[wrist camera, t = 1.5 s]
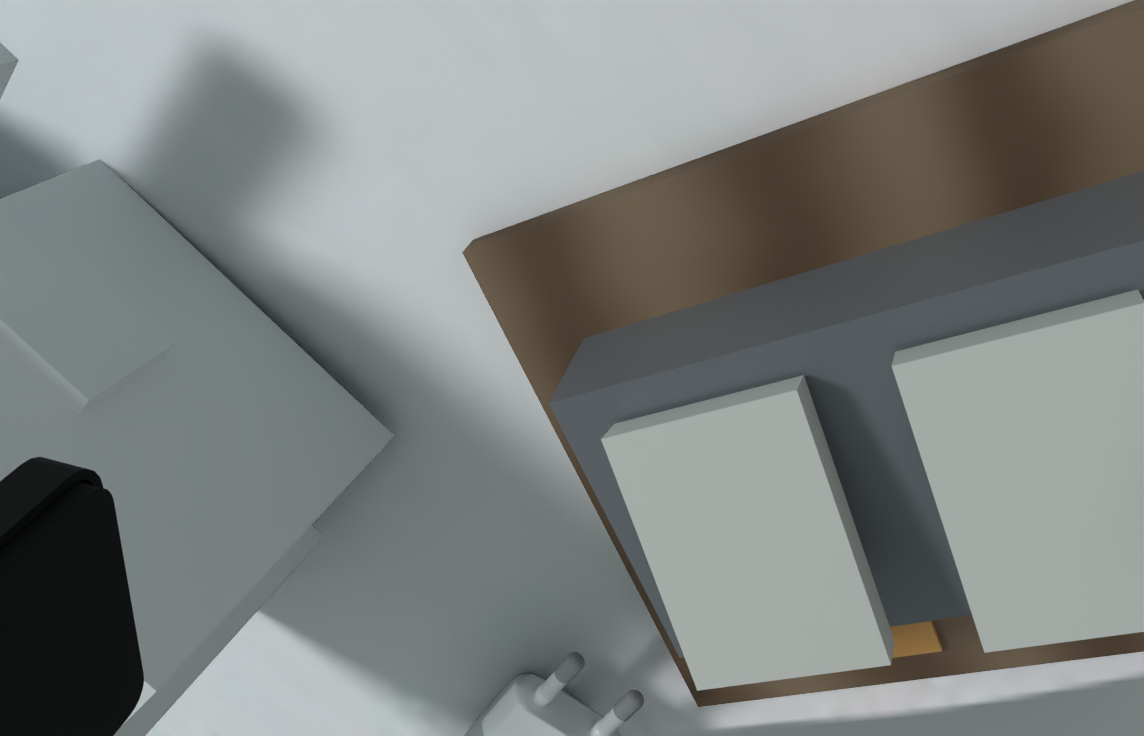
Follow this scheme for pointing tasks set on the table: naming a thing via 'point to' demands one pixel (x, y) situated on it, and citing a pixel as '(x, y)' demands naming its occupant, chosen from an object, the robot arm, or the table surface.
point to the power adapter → (551, 708)
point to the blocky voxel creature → (166, 412)
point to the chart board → (831, 243)
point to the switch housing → (857, 365)
